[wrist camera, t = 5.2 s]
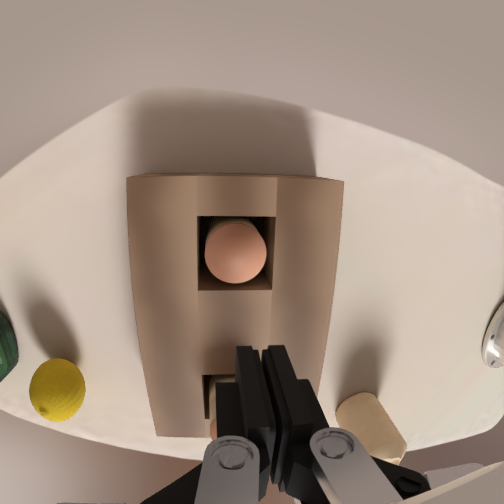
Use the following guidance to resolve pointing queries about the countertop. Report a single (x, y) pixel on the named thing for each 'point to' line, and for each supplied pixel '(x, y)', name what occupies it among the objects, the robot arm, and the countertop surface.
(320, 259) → the block
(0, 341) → the coffee jar
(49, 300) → the countertop surface
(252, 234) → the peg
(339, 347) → the countertop surface
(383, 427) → the candle
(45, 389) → the lemon
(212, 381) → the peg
